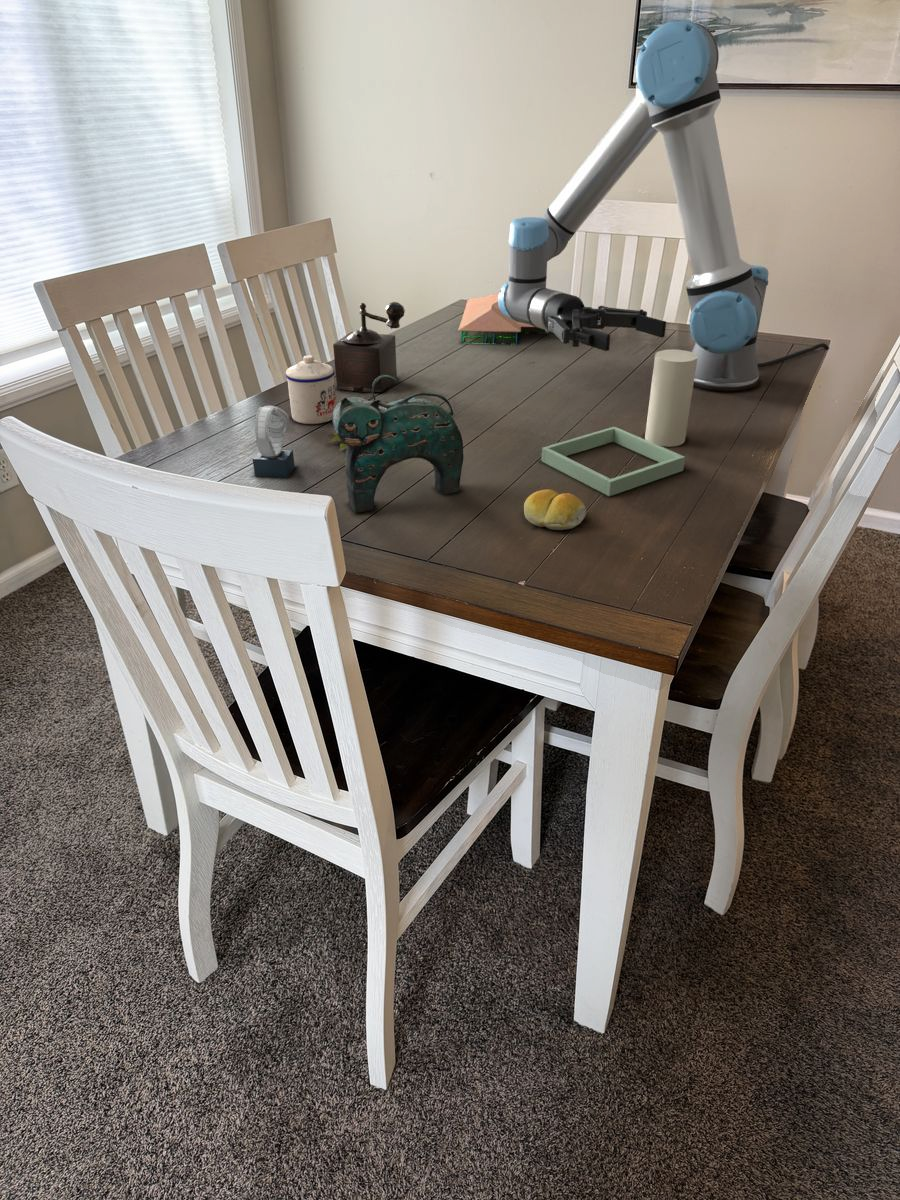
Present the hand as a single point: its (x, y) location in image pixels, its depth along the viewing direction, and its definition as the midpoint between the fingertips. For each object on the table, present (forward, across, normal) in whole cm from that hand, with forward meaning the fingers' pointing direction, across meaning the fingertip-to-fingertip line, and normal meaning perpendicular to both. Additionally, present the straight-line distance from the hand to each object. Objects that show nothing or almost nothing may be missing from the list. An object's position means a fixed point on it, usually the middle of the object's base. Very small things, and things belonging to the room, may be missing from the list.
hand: (636, 336), depth 146 cm
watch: (-18, +63, -16) cm, 68 cm away
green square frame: (+12, +16, -16) cm, 26 cm away
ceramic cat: (+2, +51, -16) cm, 54 cm away
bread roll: (+22, +36, -16) cm, 45 cm away
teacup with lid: (-38, +45, -16) cm, 61 cm away
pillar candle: (+10, 0, -16) cm, 19 cm away
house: (-66, -23, -16) cm, 72 cm away
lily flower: (-22, +45, -16) cm, 52 cm away
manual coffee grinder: (-46, +27, -16) cm, 56 cm away
